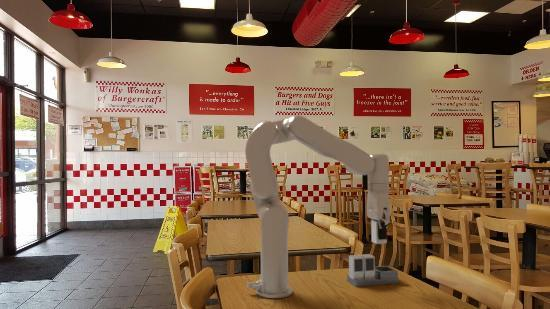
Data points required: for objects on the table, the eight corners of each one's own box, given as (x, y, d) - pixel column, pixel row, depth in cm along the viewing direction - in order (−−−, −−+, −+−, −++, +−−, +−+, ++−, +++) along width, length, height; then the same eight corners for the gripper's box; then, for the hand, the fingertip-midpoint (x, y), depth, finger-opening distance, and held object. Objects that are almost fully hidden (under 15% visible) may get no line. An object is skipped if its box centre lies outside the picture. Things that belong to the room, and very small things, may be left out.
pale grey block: (377, 244, 145) (376, 221, 145) (371, 241, 149) (371, 220, 149) (387, 243, 146) (386, 221, 146) (381, 241, 150) (381, 219, 150)
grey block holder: (356, 286, 147) (355, 259, 147) (346, 280, 155) (346, 254, 155) (398, 283, 151) (398, 256, 151) (387, 277, 159) (387, 251, 159)
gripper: (359, 186, 155) (360, 234, 155) (379, 190, 139) (380, 243, 139) (377, 186, 157) (378, 233, 157) (399, 189, 140) (400, 242, 140)
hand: (379, 237), depth 148 cm, fingers closed on pale grey block, 4 cm apart
